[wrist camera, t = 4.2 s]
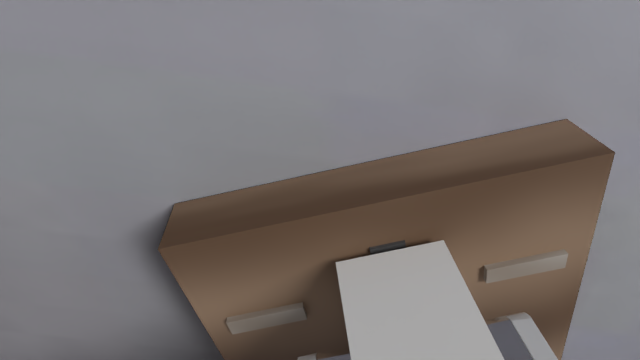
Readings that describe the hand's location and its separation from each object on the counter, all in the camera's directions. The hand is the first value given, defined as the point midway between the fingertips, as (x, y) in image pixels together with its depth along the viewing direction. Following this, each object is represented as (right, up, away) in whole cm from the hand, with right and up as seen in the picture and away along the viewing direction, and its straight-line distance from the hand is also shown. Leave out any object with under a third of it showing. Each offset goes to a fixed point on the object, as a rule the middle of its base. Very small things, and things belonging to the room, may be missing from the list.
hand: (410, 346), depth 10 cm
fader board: (+1, -5, +8) cm, 10 cm away
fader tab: (0, +1, +1) cm, 2 cm away
